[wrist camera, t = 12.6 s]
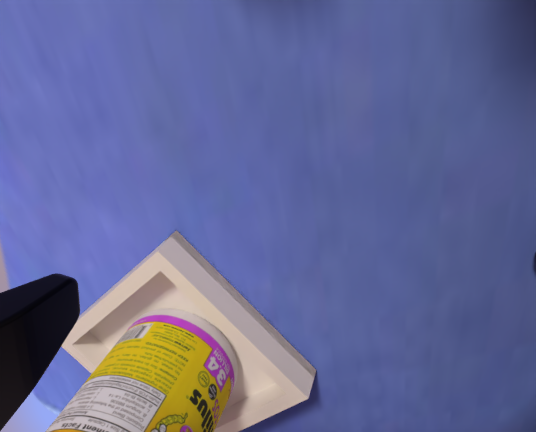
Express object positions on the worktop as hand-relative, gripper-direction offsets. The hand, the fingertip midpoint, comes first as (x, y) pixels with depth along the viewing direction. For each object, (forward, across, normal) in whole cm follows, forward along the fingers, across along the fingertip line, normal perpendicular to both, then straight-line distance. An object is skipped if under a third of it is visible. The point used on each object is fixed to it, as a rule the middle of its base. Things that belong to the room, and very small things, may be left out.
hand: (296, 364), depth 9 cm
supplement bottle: (+13, +7, +14) cm, 20 cm away
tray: (+13, +7, +15) cm, 21 cm away
